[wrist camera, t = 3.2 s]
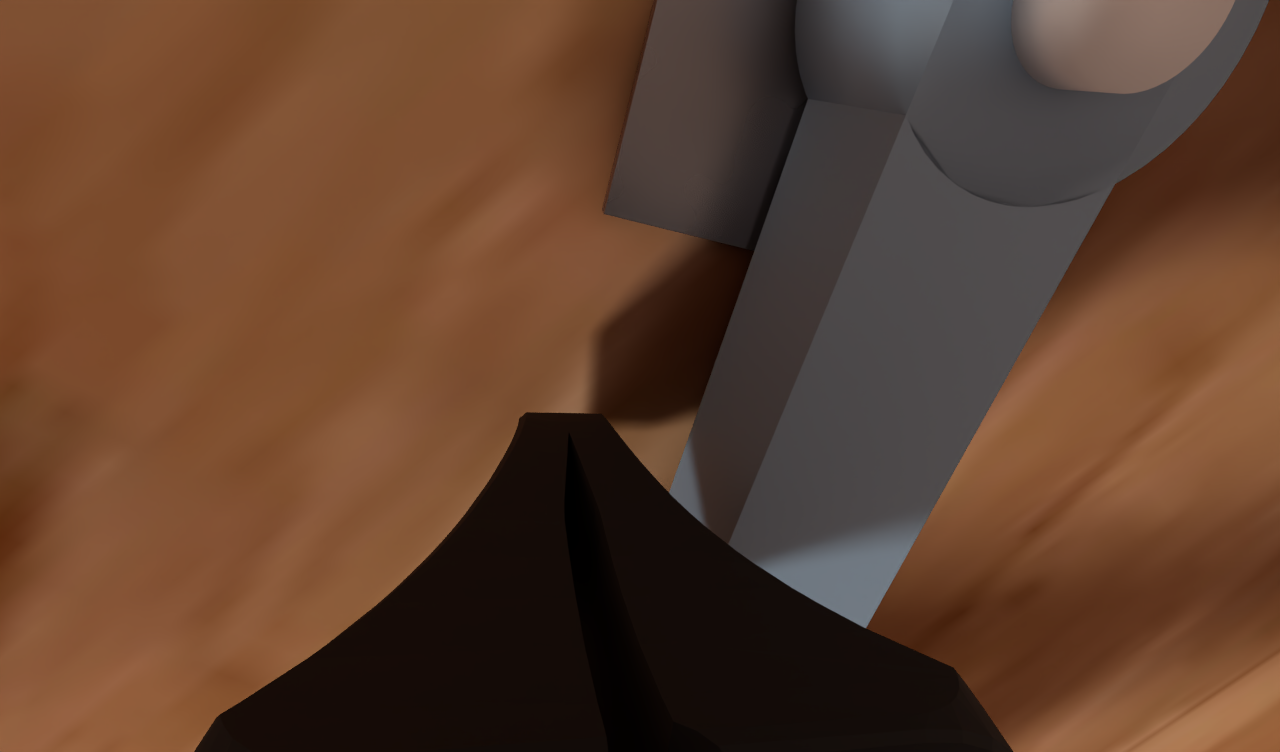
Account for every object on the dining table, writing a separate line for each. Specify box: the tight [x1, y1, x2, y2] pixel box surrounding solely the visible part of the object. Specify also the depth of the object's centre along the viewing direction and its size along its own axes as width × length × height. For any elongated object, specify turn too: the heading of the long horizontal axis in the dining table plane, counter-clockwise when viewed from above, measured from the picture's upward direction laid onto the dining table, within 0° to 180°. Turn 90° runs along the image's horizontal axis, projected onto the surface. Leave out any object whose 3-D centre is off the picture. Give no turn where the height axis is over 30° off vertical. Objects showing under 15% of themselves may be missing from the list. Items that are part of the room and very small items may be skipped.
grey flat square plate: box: [602, 0, 808, 251], centre depth 10 cm, size 8×8×1 cm
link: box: [669, 0, 1269, 628], centre depth 10 cm, size 16×4×4 cm, turn 164°
